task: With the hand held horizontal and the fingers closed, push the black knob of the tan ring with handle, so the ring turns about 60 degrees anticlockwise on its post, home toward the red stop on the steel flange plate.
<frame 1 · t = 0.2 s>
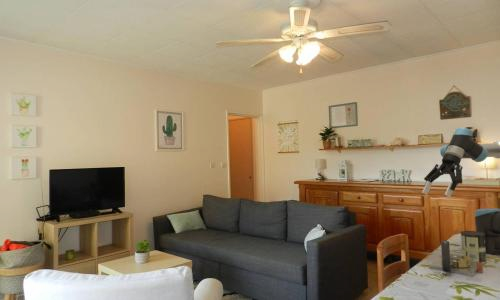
hand: (435, 194, 160), 35 cm above the table, tool tilted 35°, fingers open, 13 cm apart
flange plate: (455, 267, 161), on the table
coffee can: (473, 261, 169), on the table
tan ring with handle: (451, 251, 158), point 8 cm above the table, hinge at 0.0°
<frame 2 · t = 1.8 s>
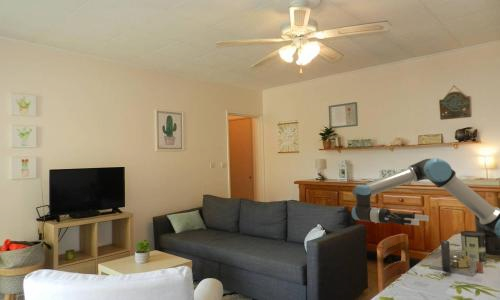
hand: (424, 220, 163), 23 cm above the table, tool horizontal, fingers open, 13 cm apart
nothing on the table moved.
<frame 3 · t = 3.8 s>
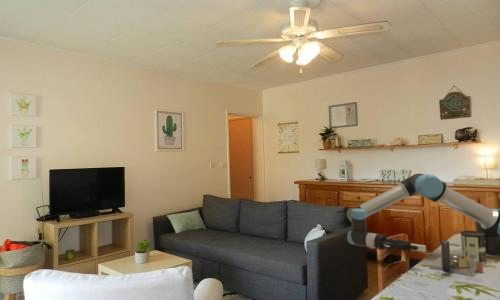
hand: (425, 248, 158), 10 cm above the table, tool horizontal, fingers closed
nothing on the table moved.
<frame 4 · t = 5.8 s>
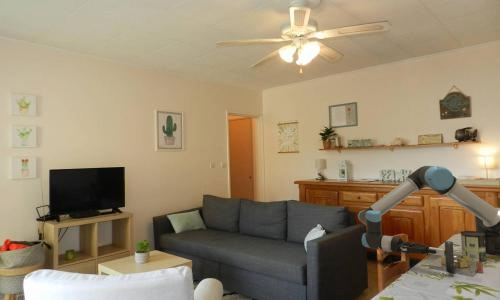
hand: (444, 252, 152), 10 cm above the table, tool horizontal, fingers closed
tan ring with handle: (453, 252, 157), point 8 cm above the table, hinge at 6.0°, touching gripper
everything else where it was.
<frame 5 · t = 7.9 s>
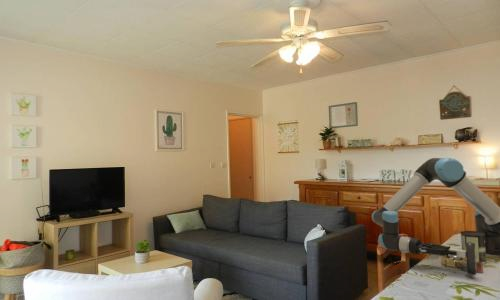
hand: (465, 254, 149), 10 cm above the table, tool horizontal, fingers closed, pressing on tan ring with handle
tan ring with handle: (460, 252, 156), point 8 cm above the table, hinge at 39.7°, touching gripper
everything else where it was.
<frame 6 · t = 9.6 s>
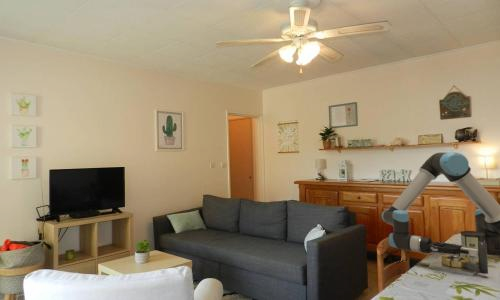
hand: (477, 253, 149), 10 cm above the table, tool horizontal, fingers closed
tan ring with handle: (464, 252, 157), point 8 cm above the table, hinge at 63.1°, touching gripper
everything else where it was.
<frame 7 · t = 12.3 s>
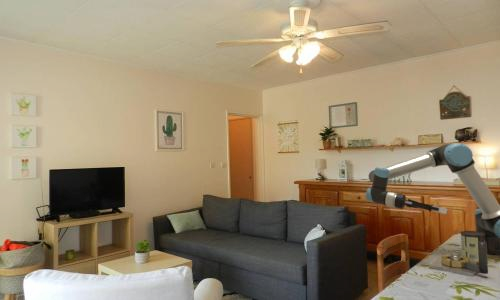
hand: (446, 211, 162), 27 cm above the table, tool horizontal, fingers closed
tan ring with handle: (464, 252, 157), point 8 cm above the table, hinge at 63.2°
everything else where it was.
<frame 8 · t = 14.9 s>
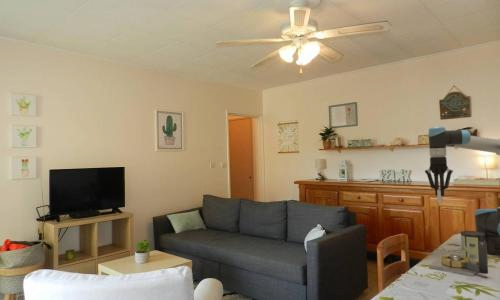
hand: (440, 202, 174), 29 cm above the table, tool pointing down, fingers closed
nothing on the table moved.
at the end: tan ring with handle at +63° (first picture: +0°); the gripper is holding nothing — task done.
